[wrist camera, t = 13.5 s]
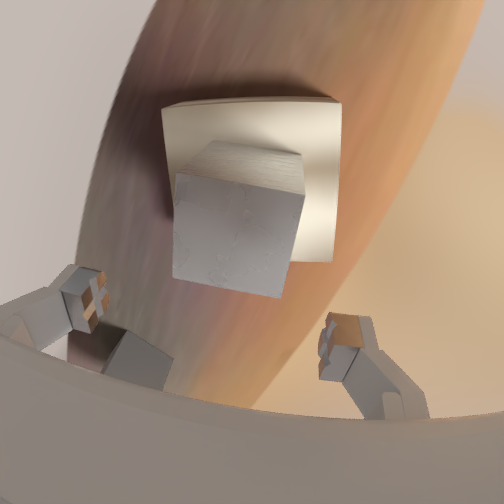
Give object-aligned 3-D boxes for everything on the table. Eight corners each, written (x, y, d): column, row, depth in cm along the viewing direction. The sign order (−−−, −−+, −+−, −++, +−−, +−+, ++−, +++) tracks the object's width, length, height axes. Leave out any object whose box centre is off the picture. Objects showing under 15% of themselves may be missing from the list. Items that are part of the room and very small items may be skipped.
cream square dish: (326, 229, 27) (332, 262, 23) (198, 227, 28) (182, 257, 24) (331, 97, 21) (341, 103, 17) (185, 101, 23) (161, 108, 18)
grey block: (285, 232, 22) (280, 298, 16) (205, 218, 22) (172, 277, 16) (301, 154, 19) (305, 195, 13) (213, 139, 19) (175, 173, 13)
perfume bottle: (127, 329, 36) (64, 457, 21) (173, 359, 38) (127, 489, 23) (111, 352, 40) (56, 463, 24) (152, 378, 41) (109, 491, 26)
